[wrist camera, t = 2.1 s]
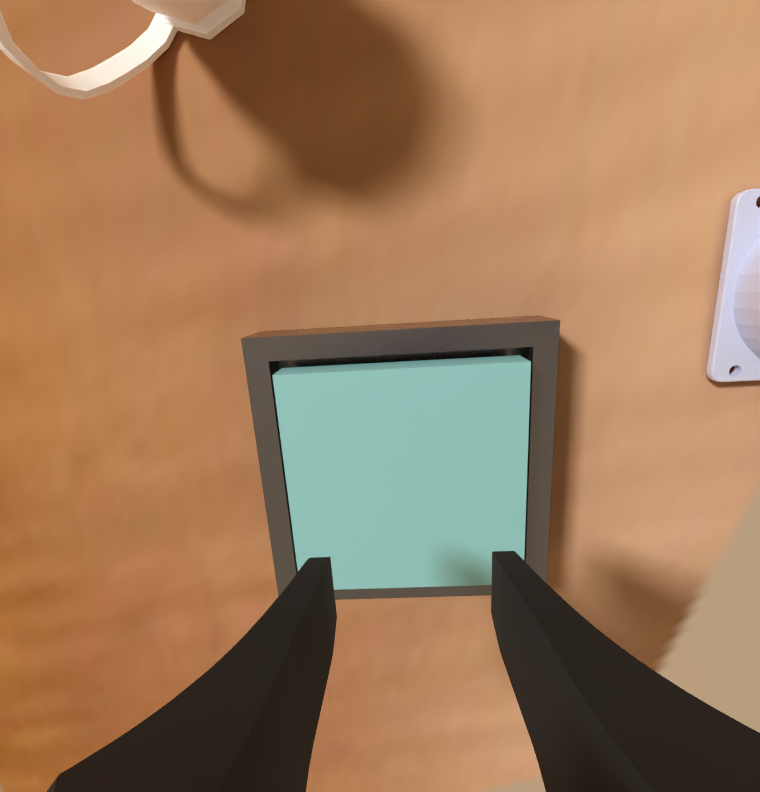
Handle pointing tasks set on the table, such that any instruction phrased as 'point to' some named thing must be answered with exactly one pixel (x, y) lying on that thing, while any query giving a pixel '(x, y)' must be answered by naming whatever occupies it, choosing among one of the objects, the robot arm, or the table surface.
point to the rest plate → (406, 467)
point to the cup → (134, 45)
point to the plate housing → (400, 344)
